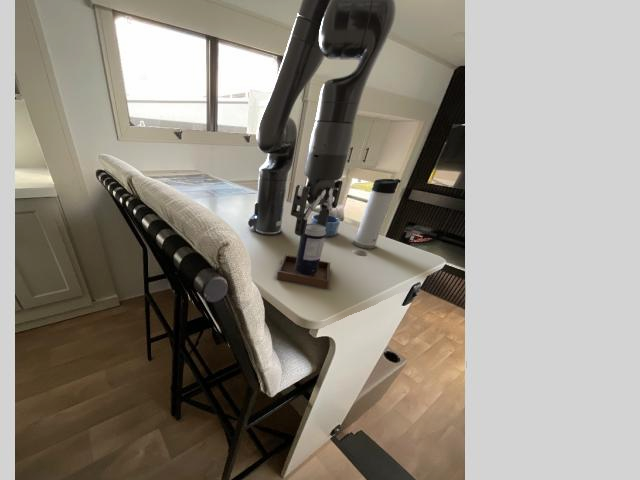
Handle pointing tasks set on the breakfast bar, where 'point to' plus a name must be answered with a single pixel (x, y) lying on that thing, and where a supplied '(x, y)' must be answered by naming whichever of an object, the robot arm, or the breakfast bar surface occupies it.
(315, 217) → the bowl
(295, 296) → the breakfast bar surface
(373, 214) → the travel mug
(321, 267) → the tray
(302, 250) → the beverage can
